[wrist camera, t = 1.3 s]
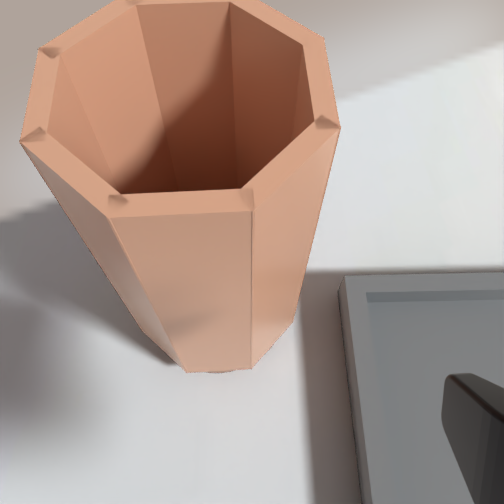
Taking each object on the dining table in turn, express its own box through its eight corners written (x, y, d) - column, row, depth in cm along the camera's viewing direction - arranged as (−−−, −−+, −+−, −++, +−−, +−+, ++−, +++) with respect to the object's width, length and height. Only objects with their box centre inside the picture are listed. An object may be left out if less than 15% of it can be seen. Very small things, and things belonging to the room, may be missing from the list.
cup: (295, 371, 20) (356, 206, 9) (143, 380, 20) (2, 223, 9) (282, 239, 23) (314, -16, 12) (149, 245, 23) (49, -6, 12)
